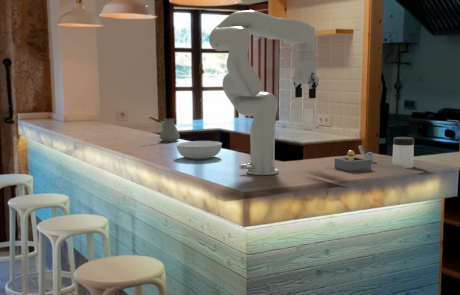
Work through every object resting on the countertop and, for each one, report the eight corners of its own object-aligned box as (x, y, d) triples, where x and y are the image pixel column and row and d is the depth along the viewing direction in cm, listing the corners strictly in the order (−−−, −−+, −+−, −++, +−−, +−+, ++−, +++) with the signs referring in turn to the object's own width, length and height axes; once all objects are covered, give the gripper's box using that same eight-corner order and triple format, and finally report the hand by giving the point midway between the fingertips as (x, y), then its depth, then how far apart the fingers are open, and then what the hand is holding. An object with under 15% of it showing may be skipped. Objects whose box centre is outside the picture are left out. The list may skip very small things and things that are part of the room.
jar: (393, 164, 233) (394, 136, 232) (413, 165, 230) (414, 137, 229) (391, 167, 225) (392, 138, 224) (412, 169, 222) (413, 139, 221)
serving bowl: (201, 153, 269) (201, 139, 268) (231, 158, 254) (231, 143, 253) (167, 158, 255) (167, 143, 254) (197, 163, 240) (197, 147, 239)
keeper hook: (350, 169, 215) (350, 150, 214) (345, 168, 218) (346, 150, 217) (355, 168, 217) (356, 150, 216) (351, 167, 219) (351, 149, 218)
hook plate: (348, 176, 208) (348, 173, 208) (325, 170, 220) (325, 167, 220) (376, 172, 215) (376, 169, 214) (352, 167, 227) (352, 164, 227)
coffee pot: (169, 139, 325) (169, 114, 322) (184, 140, 317) (183, 114, 315) (142, 143, 308) (142, 116, 306) (157, 144, 301) (156, 117, 299)
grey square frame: (351, 172, 210) (351, 161, 209) (334, 168, 218) (334, 158, 218) (371, 169, 214) (371, 159, 214) (353, 166, 223) (354, 156, 223)
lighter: (374, 164, 233) (375, 146, 231) (373, 165, 231) (373, 146, 230) (359, 163, 237) (359, 144, 236) (357, 163, 236) (358, 145, 235)
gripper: (286, 57, 236) (286, 97, 238) (310, 56, 220) (310, 99, 223) (301, 57, 239) (300, 96, 241) (325, 56, 224) (325, 98, 226)
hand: (305, 97), depth 232 cm, fingers open, 9 cm apart
